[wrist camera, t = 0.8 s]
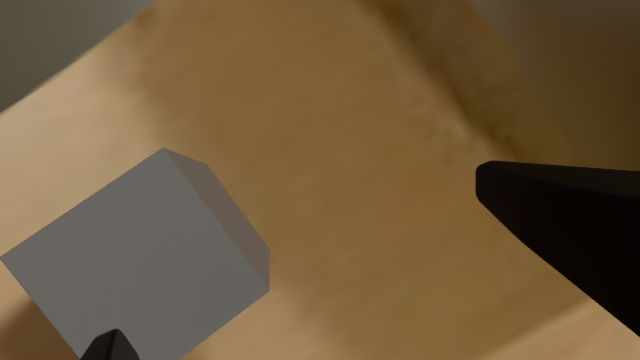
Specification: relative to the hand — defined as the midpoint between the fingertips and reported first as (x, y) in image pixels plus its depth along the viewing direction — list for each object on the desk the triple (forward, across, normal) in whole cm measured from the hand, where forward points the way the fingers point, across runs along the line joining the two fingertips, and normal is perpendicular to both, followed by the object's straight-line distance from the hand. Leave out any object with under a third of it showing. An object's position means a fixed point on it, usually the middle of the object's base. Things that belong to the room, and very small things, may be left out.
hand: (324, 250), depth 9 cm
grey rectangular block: (+14, +4, +7) cm, 16 cm away
